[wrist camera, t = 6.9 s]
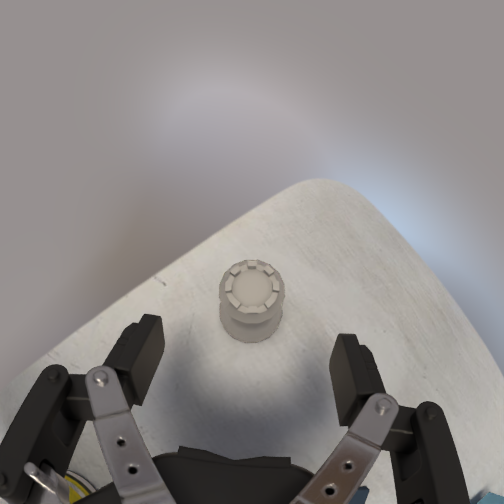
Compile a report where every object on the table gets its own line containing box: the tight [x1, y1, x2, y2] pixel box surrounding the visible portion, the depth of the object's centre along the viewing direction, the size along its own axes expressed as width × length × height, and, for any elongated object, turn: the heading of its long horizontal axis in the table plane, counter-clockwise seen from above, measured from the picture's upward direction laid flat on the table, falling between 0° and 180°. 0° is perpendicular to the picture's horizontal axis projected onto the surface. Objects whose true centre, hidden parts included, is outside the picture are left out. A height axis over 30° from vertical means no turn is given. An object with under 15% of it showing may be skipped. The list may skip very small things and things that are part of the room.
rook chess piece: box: [219, 260, 285, 343], centre depth 17 cm, size 4×4×8 cm
